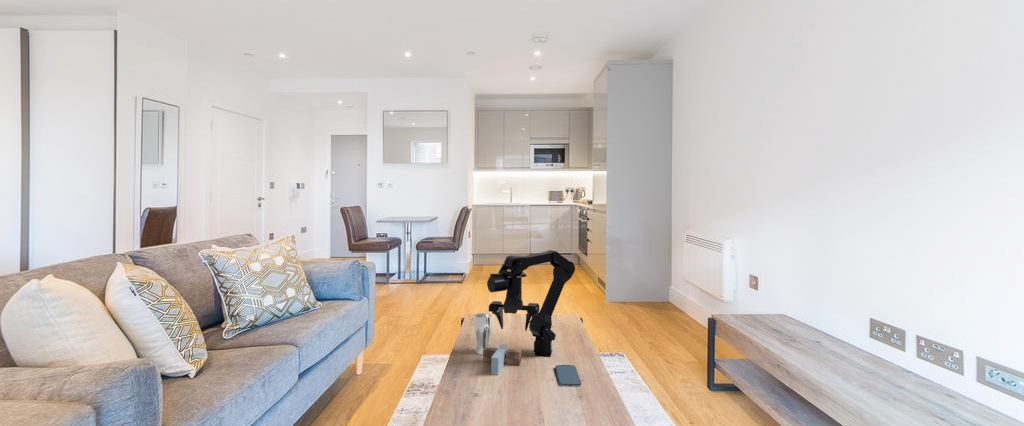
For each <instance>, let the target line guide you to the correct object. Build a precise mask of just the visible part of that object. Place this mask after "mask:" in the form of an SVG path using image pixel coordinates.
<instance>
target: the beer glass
mask: <svg viewBox="0 0 1024 426" xmlns="http://www.w3.org/2000/svg"><path fill="white" fill-rule="evenodd" d="M492 323H493V322H492V314H490V313H487V312H486V313H484V312H481V313H476V314H474V324H473V325H474V326H473V327H474V330H473V331H474V336H475V345H476V347H475V351H474V352H475V354H476V355H480V356H483V349H484V348H485V347H489V348H491V346H490V342H491V341H490V340H491V335H492V328H493V327H492Z"/></svg>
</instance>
